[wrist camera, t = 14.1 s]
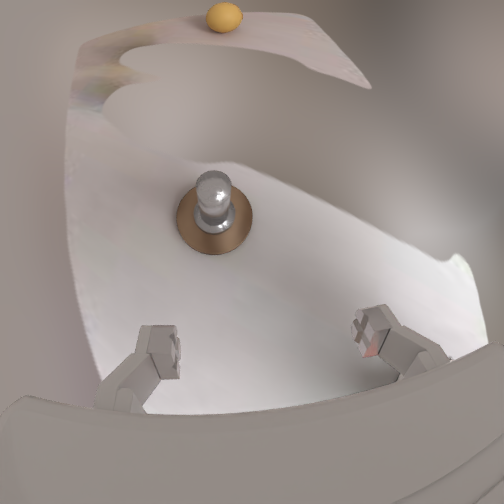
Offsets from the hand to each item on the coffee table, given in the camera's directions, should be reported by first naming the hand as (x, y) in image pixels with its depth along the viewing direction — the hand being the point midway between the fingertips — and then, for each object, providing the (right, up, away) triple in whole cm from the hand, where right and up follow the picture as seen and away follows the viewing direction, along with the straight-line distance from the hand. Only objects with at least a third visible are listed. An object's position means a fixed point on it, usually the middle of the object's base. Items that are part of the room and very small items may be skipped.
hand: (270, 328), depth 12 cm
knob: (-7, +9, +32) cm, 34 cm away
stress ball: (-9, +66, +48) cm, 82 cm away
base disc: (-7, +9, +33) cm, 35 cm away
